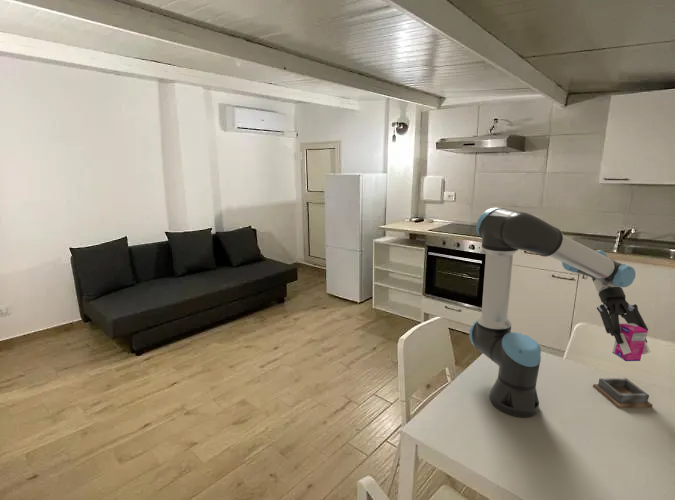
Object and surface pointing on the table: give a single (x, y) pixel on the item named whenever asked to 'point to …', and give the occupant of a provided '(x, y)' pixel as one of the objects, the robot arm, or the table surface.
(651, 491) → the table surface
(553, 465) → the table surface
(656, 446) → the table surface
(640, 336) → the supplement box
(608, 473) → the table surface
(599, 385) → the socket
